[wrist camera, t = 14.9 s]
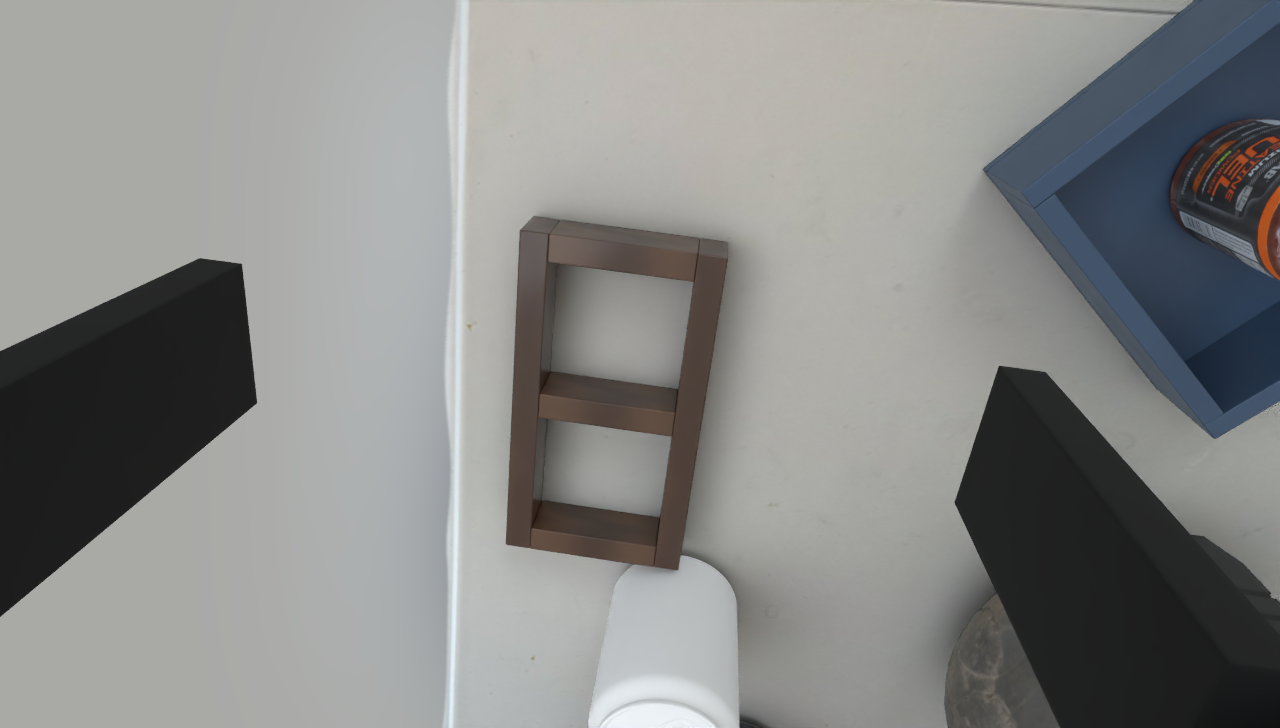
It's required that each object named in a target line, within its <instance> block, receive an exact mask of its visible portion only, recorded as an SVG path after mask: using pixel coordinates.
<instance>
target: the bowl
mask: <svg viewBox="0 0 1280 728" xmlns="http://www.w3.org/2000/svg"><path fill="white" fill-rule="evenodd" d="M944 705H945V713H946V719H947V725H948V728H1060V727H1059V725H1058V722H1057V720H1056V718H1055V716H1054V714H1053V712H1052V710H1051V707H1050V705H1049V703H1048V701H1047V699H1046V697H1045V695H1044V693H1043V690H1042V688H1041V686H1040V684H1039V682H1038V680H1037V678H1036V675H1035V673H1034V671H1033V669H1032V667H1031V665H1030V663H1029V661H1028V658H1027V656H1026V654H1025V652H1024V650H1023V648H1022V646H1021V643H1020V641H1019V639H1018V637H1017V635H1016V633H1015V631H1014V628H1013V626H1012V624H1011V622H1010V620H1009V618H1008V616H1007V614H1006V611H1005V609H1004V607H1003V605H1002V603H1001V601H1000V599H999V596H998V594H995V595H994V596H992V597H991V598H990V599H989V600H988V601H987V603H985V605H983V607H982V608H981V609H980V610H978V611H977V612H976V614H975V615H974V616H973V617H972V619H971V620H970V622H969V624H968V625H967V627H966V628H965V629H964V630H963V632H962V633H961V635H960V637H959V639H958V641H957V644H956V646H955V648H954V650H953V652H952V655H951V658H950V661H949V664H948V671H947V676H946V685H945V700H944Z"/></svg>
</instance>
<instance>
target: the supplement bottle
mask: <svg viewBox="0 0 1280 728" xmlns="http://www.w3.org/2000/svg"><path fill="white" fill-rule="evenodd" d="M1169 194H1170V205H1171V208H1172V212H1173V215H1174V217H1175V219H1176V221H1177V223H1178V224H1179V226H1180V227H1181V228H1182V229H1183V230H1184V231H1185V232H1186V233H1188V234H1190V235H1191V236H1192V237H1194V238H1196V239H1197V240H1199V241H1200V242H1202V243H1205V244H1207V245H1209V246H1211V247H1213V248H1215V249H1217V250H1219V251H1221V252H1223V253H1225V254H1227V255H1229V256H1231V257H1233V258H1235V259H1237V260H1239V261H1241V262H1243V263H1245V264H1246V265H1249V266H1251V267H1253V268H1255V269H1257V270H1259V271H1261V272H1263V273H1265V274H1267V275H1269V276H1270V277H1272V278H1275V279H1277V280H1278V281H1280V121H1278V120H1269V119H1248V120H1241V121H1237V122H1233V123H1230V124H1228V125H1225V126H1223V127H1220V128H1218V129H1217V130H1215V131H1213V132H1211V133H1209V134H1208V135H1206V136H1205V137H1204V138H1202V139H1201V140H1200V141H1199V142H1198V143H1196V144H1195V145H1194V146H1193V147H1192V148H1191V149H1190V150H1189V152H1188V153H1187V154H1186V155H1185V156H1184V157H1183V159H1182V161H1181V163H1180V164H1179V166H1178V168H1177V170H1176V172H1175V174H1174V176H1173V179H1172V185H1171V187H1170V190H1169Z"/></svg>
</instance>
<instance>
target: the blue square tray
mask: <svg viewBox="0 0 1280 728" xmlns="http://www.w3.org/2000/svg"><path fill="white" fill-rule="evenodd" d="M1248 119H1269V120H1278V121H1280V0H1195V1H1194V2H1193V3H1191V4H1190V5H1189V6H1188V7H1186V8H1185V9H1184V10H1182V11H1181V12H1180V13H1179V14H1177V15H1176V16H1175V17H1174V18H1172V19H1171V20H1170V21H1169V22H1167V23H1166V24H1165V25H1164V26H1162V27H1161V28H1160V29H1159V30H1157V31H1156V32H1155V33H1154V34H1152V35H1151V36H1150V37H1148V38H1147V39H1146V40H1145V41H1143V42H1142V43H1141V44H1140V45H1138V46H1137V47H1136V48H1135V49H1133V50H1132V51H1131V52H1130V53H1128V54H1127V55H1126V56H1125V57H1123V58H1122V59H1121V60H1120V61H1118V62H1117V63H1116V64H1114V65H1113V66H1112V67H1111V68H1109V69H1108V70H1107V71H1106V72H1104V73H1103V74H1102V75H1101V76H1099V77H1098V78H1097V79H1096V80H1094V81H1093V82H1092V83H1091V84H1089V85H1088V86H1087V87H1086V88H1084V89H1083V90H1082V91H1080V92H1079V93H1078V94H1077V95H1075V96H1074V97H1073V98H1072V99H1070V100H1069V101H1068V102H1067V103H1065V104H1064V105H1063V106H1062V107H1060V108H1059V109H1058V110H1057V111H1055V112H1054V113H1053V114H1052V115H1050V116H1049V117H1048V118H1046V119H1045V120H1044V121H1043V122H1041V123H1040V124H1039V125H1038V126H1036V127H1035V128H1034V129H1033V130H1031V131H1030V132H1029V133H1028V134H1026V135H1025V136H1024V137H1023V138H1021V139H1020V140H1019V141H1018V142H1016V143H1015V144H1014V145H1013V146H1011V147H1010V148H1009V149H1007V150H1006V151H1005V152H1004V153H1002V154H1001V155H1000V156H999V157H997V158H996V159H995V160H994V161H992V162H991V163H990V164H989V165H987V166H986V167H985V168H984V169H983V170H984V172H985V173H986V174H987V175H988V177H989V178H990V179H991V180H992V182H993V183H994V184H995V185H996V187H997V188H998V189H999V190H1000V192H1001V193H1002V194H1003V196H1004V197H1005V198H1006V199H1007V201H1008V202H1009V203H1010V204H1011V206H1012V207H1013V208H1014V209H1015V211H1016V212H1017V213H1018V214H1019V216H1020V217H1021V218H1022V220H1023V221H1024V222H1025V223H1026V225H1027V226H1028V227H1029V228H1030V230H1031V231H1032V232H1033V233H1034V235H1035V236H1036V237H1037V238H1038V240H1039V241H1040V242H1041V243H1042V245H1043V246H1044V247H1045V249H1046V250H1047V251H1048V252H1049V254H1050V255H1051V256H1052V257H1053V259H1054V260H1055V261H1056V262H1057V264H1058V265H1059V266H1060V267H1061V269H1062V270H1063V271H1064V273H1065V274H1066V275H1067V276H1068V278H1069V279H1070V280H1071V281H1072V283H1073V284H1074V285H1075V286H1076V288H1077V289H1078V290H1079V291H1080V293H1081V294H1082V295H1083V296H1084V298H1085V299H1086V300H1087V302H1088V303H1089V304H1090V305H1091V307H1092V308H1093V309H1094V310H1095V312H1096V313H1097V314H1098V315H1099V317H1100V318H1101V319H1102V320H1103V322H1104V323H1105V324H1106V326H1107V327H1108V328H1109V329H1110V331H1111V332H1112V333H1113V334H1114V336H1115V337H1116V338H1117V339H1118V341H1119V342H1120V343H1121V344H1122V346H1123V347H1124V348H1125V349H1126V351H1127V352H1128V353H1129V355H1130V356H1131V357H1132V358H1133V360H1134V361H1135V362H1136V363H1137V365H1138V366H1139V367H1140V368H1141V370H1142V371H1143V372H1144V373H1145V375H1146V376H1147V377H1148V379H1149V380H1150V381H1151V382H1152V384H1153V385H1154V386H1155V387H1156V389H1157V390H1159V391H1160V392H1161V393H1162V394H1163V395H1164V396H1166V397H1167V398H1168V399H1169V400H1170V401H1171V402H1172V403H1174V404H1175V405H1176V406H1177V407H1178V408H1179V409H1180V410H1182V411H1183V412H1184V413H1185V414H1186V415H1187V416H1188V417H1190V418H1191V419H1192V420H1193V421H1194V422H1195V423H1197V424H1198V425H1199V426H1200V427H1201V428H1202V429H1203V430H1205V431H1206V432H1207V433H1208V434H1209V435H1210V436H1211V437H1213V438H1214V439H1216V438H1218V437H1219V436H1221V435H1223V434H1225V433H1226V432H1228V431H1230V430H1231V429H1233V428H1235V427H1236V426H1238V425H1240V424H1242V423H1243V422H1245V421H1247V420H1248V419H1250V418H1252V417H1253V416H1255V415H1257V414H1259V413H1260V412H1262V411H1264V410H1265V409H1267V408H1269V407H1270V406H1272V405H1274V404H1276V403H1277V402H1279V401H1280V281H1278V280H1277V279H1275V278H1272V277H1270V276H1269V275H1267V274H1265V273H1263V272H1261V271H1259V270H1257V269H1255V268H1253V267H1251V266H1249V265H1246V264H1245V263H1243V262H1241V261H1239V260H1237V259H1235V258H1233V257H1231V256H1229V255H1227V254H1225V253H1223V252H1221V251H1219V250H1217V249H1215V248H1213V247H1211V246H1209V245H1207V244H1205V243H1202V242H1200V241H1199V240H1197V239H1196V238H1194V237H1192V236H1191V235H1190V234H1188V233H1186V232H1185V231H1184V230H1183V229H1182V228H1181V227H1180V226H1179V224H1178V223H1177V221H1176V219H1175V217H1174V215H1173V212H1172V208H1171V205H1170V194H1169V190H1170V187H1171V185H1172V179H1173V176H1174V174H1175V172H1176V170H1177V168H1178V166H1179V164H1180V163H1181V161H1182V159H1183V157H1184V156H1185V155H1186V154H1187V153H1188V152H1189V150H1190V149H1191V148H1192V147H1193V146H1194V145H1195V144H1196V143H1198V142H1199V141H1200V140H1201V139H1202V138H1204V137H1205V136H1206V135H1208V134H1209V133H1211V132H1213V131H1215V130H1217V129H1218V128H1220V127H1223V126H1225V125H1228V124H1230V123H1233V122H1237V121H1241V120H1248Z"/></svg>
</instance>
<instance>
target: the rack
mask: <svg viewBox="0 0 1280 728" xmlns="http://www.w3.org/2000/svg"><path fill="white" fill-rule="evenodd" d="M727 261H728V243H727V242H724V241H717V240H709V239H702V238H701V239H699V238H695V237H688V236H680V235H672V234H665V233H657V232H650V231H642V230H634V229H627V228H619V227H612V226H604V225H596V224H589V223H581V222H574V221H566V220H558V219H550V218H542V217H535V216H534V217H532V218H531V219H530V220H529V221H528V223H527V224H526V225H525V226H524V227H523V228H522V229H521V230H520V241H519V263H518V285H517V307H516V330H515V352H514V374H513V396H512V418H511V441H510V463H509V485H508V507H507V530H506V544H507V545H512V546H519V547H525V548H531V549H537V550H544V551H551V552H557V553H564V554H570V555H577V556H583V557H590V558H597V559H603V560H610V561H616V562H623V563H630V564H636V565H643V566H649V567H653V566H654V567H657V568H664V569H671V570H678V569H679V563H680V556H681V550H682V544H683V537H684V531H685V525H686V519H687V512H688V506H689V500H690V493H691V487H692V481H693V475H694V468H695V462H696V456H697V449H698V443H699V437H700V431H701V424H702V418H703V412H704V406H705V399H706V393H707V387H708V380H709V374H710V368H711V362H712V355H713V349H714V343H715V336H716V330H717V324H718V318H719V311H720V305H721V299H722V292H723V286H724V280H725V274H726V267H727ZM557 263H558V264H566V265H573V266H580V267H588V268H595V269H603V270H610V271H618V272H625V273H633V274H640V275H647V276H655V277H662V278H670V279H677V280H685V281H692V282H693V281H694V283H693V290H692V297H691V304H690V311H689V318H688V325H687V332H686V339H685V346H684V353H683V360H682V367H681V374H680V381H679V388H678V390H677V389H670V388H663V387H656V386H649V385H642V384H635V383H628V382H621V381H613V380H606V379H599V378H592V377H585V376H578V375H571V374H564V373H557V372H550V367H551V352H552V337H553V322H554V307H555V292H556V277H557ZM547 419H553V420H560V421H567V422H574V423H581V424H588V425H595V426H602V427H609V428H616V429H623V430H630V431H637V432H644V433H651V434H658V435H665V436H672V437H671V444H670V451H669V458H668V465H667V473H666V480H665V487H664V494H663V501H662V508H661V515H660V518H656V517H650V516H643V515H636V514H629V513H623V512H616V511H609V510H603V509H596V508H589V507H582V506H576V505H569V504H562V503H556V502H549V501H542V488H543V473H544V458H545V443H546V428H547Z"/></svg>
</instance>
